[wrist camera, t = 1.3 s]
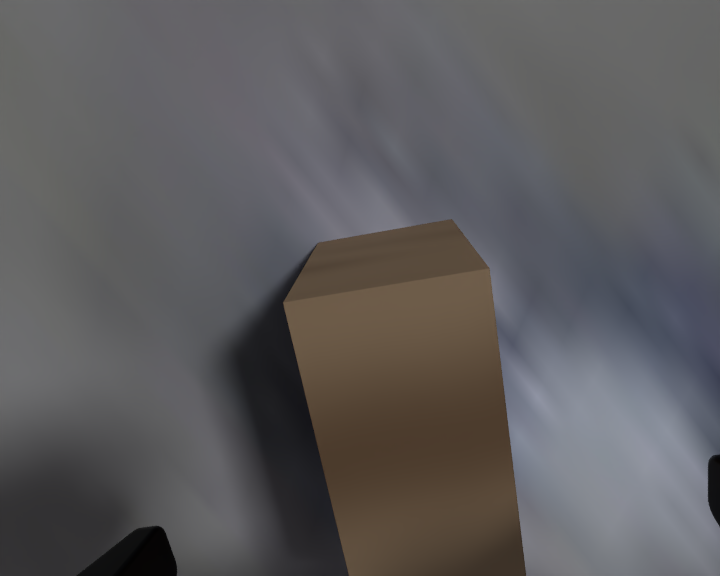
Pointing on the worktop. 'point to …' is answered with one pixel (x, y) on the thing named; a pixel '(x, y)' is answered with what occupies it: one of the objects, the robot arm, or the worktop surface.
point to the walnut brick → (409, 402)
